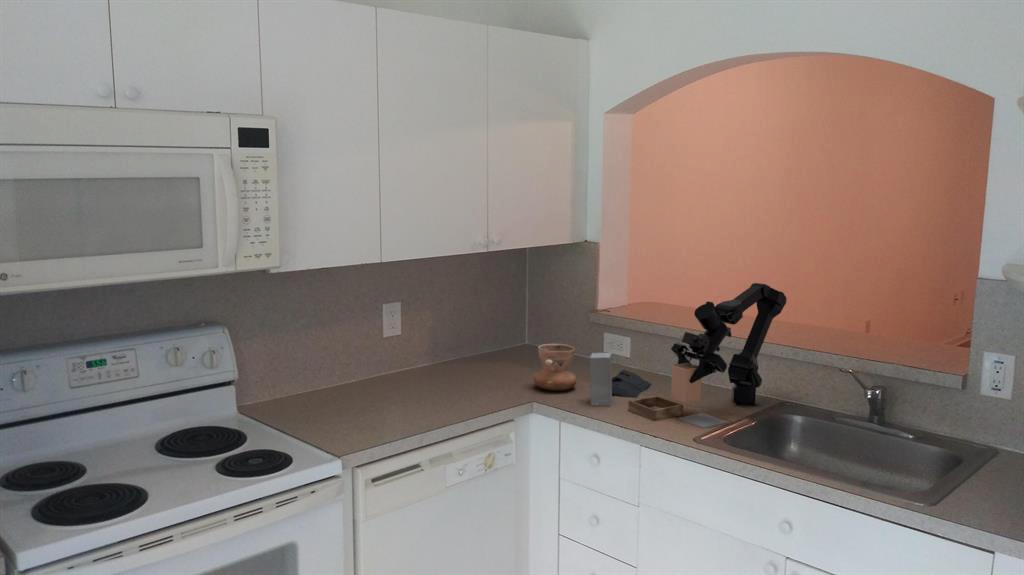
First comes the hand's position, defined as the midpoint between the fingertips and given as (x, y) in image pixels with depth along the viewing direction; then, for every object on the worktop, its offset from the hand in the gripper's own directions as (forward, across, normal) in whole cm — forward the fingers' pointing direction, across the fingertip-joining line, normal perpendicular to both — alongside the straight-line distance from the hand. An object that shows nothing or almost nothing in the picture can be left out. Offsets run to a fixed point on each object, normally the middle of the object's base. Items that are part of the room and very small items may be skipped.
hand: (682, 379), depth 236 cm
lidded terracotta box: (+3, 0, +5) cm, 6 cm away
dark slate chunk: (+5, -34, +14) cm, 37 cm away
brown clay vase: (+18, -47, -1) cm, 50 cm away
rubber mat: (+6, +5, +11) cm, 14 cm away
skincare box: (+17, -25, +1) cm, 30 cm away
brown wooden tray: (+11, -8, +6) cm, 15 cm away
